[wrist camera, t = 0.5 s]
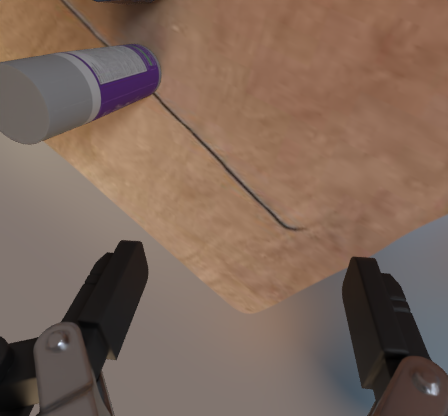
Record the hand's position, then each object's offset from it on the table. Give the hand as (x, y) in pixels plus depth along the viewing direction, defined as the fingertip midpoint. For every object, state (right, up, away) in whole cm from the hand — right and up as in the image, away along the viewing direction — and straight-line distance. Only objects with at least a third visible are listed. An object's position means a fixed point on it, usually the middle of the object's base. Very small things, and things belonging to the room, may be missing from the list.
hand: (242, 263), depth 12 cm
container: (-9, +15, +18) cm, 25 cm away
